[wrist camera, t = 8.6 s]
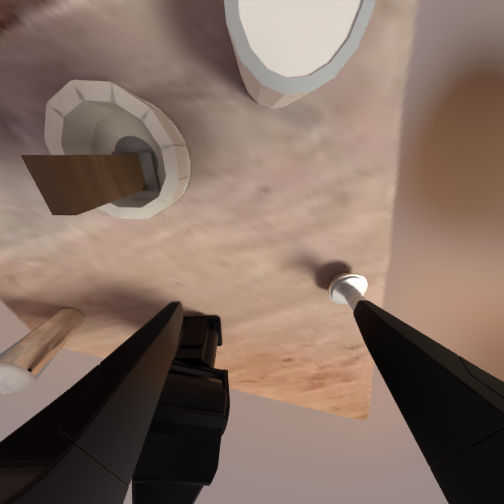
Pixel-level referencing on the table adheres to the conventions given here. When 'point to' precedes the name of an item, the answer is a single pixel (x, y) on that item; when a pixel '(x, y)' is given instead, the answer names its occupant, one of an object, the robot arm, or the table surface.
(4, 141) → the table surface
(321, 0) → the white tapered cylinder
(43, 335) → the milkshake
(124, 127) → the white bowl
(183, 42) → the table surface
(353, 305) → the screw
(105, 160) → the brown wooden handle
